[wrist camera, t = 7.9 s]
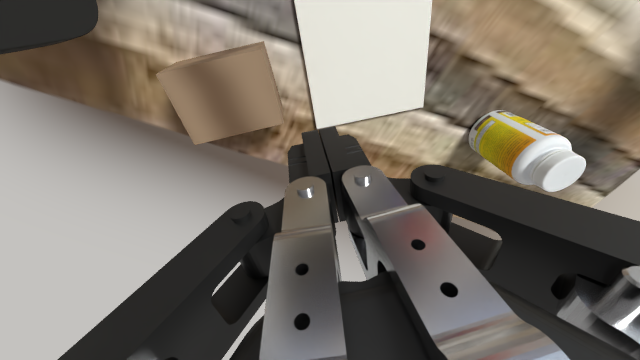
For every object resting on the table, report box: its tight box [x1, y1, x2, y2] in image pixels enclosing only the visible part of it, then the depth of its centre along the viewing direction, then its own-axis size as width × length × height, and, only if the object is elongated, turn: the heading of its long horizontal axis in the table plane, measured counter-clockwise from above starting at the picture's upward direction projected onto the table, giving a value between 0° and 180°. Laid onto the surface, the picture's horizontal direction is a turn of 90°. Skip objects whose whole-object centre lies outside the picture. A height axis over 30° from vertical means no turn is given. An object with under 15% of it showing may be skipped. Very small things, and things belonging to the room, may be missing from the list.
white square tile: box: [294, 0, 432, 129], centre depth 24 cm, size 12×12×1 cm
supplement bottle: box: [469, 110, 586, 192], centre depth 27 cm, size 6×6×10 cm
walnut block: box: [156, 41, 283, 145], centre depth 22 cm, size 8×6×5 cm
